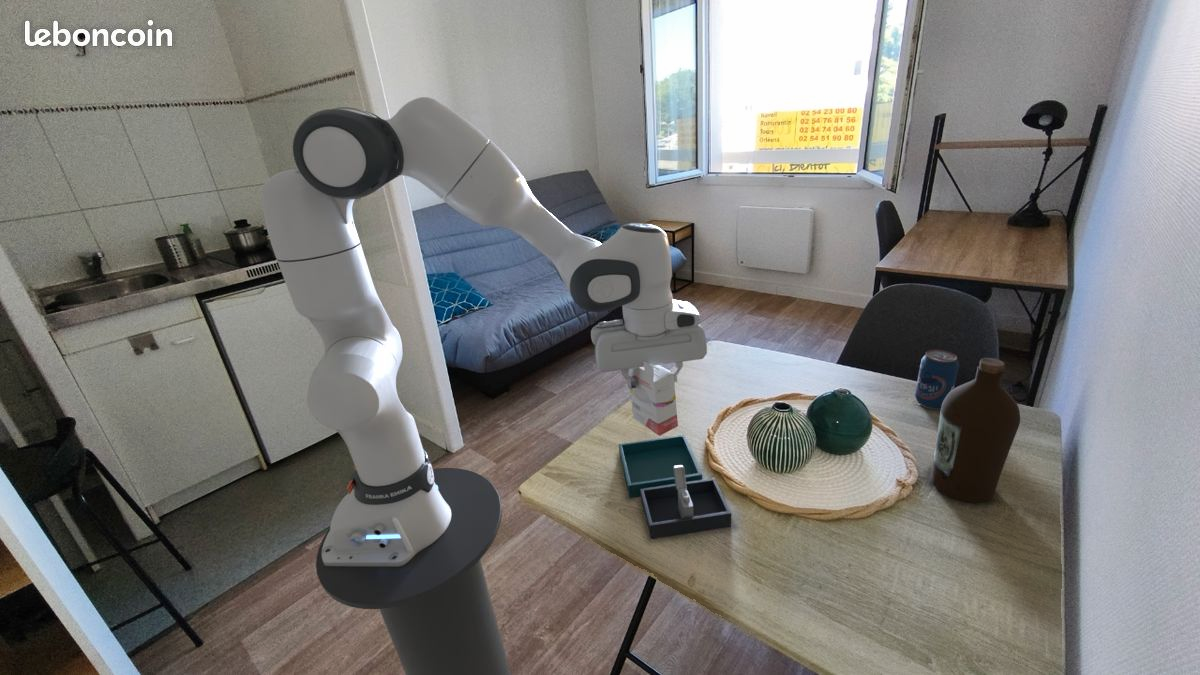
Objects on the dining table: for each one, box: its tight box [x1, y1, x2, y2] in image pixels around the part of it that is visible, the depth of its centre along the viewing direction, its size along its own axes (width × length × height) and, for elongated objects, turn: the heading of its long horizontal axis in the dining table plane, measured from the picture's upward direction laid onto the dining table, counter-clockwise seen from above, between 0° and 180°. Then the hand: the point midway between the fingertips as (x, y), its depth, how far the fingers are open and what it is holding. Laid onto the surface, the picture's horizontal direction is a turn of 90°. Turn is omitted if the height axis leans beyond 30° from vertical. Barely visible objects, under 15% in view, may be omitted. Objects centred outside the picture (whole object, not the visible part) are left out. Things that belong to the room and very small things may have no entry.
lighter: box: [673, 465, 693, 519], centre depth 89 cm, size 7×2×8 cm, turn 6°
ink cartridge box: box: [628, 362, 679, 437], centre depth 95 cm, size 9×5×15 cm, turn 33°
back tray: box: [618, 434, 703, 499], centre depth 101 cm, size 14×13×3 cm
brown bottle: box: [930, 357, 1021, 504], centre depth 85 cm, size 11×11×25 cm
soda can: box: [914, 349, 960, 410], centre depth 111 cm, size 7×7×12 cm
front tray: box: [640, 477, 732, 540], centre depth 90 cm, size 14×9×3 cm, turn 96°
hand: (652, 384), depth 94 cm, fingers closed on ink cartridge box, 6 cm apart
